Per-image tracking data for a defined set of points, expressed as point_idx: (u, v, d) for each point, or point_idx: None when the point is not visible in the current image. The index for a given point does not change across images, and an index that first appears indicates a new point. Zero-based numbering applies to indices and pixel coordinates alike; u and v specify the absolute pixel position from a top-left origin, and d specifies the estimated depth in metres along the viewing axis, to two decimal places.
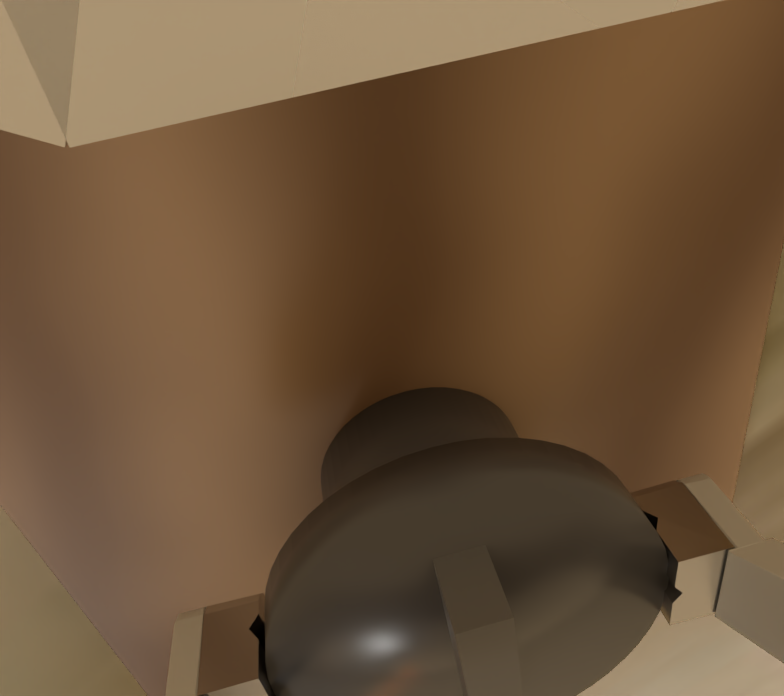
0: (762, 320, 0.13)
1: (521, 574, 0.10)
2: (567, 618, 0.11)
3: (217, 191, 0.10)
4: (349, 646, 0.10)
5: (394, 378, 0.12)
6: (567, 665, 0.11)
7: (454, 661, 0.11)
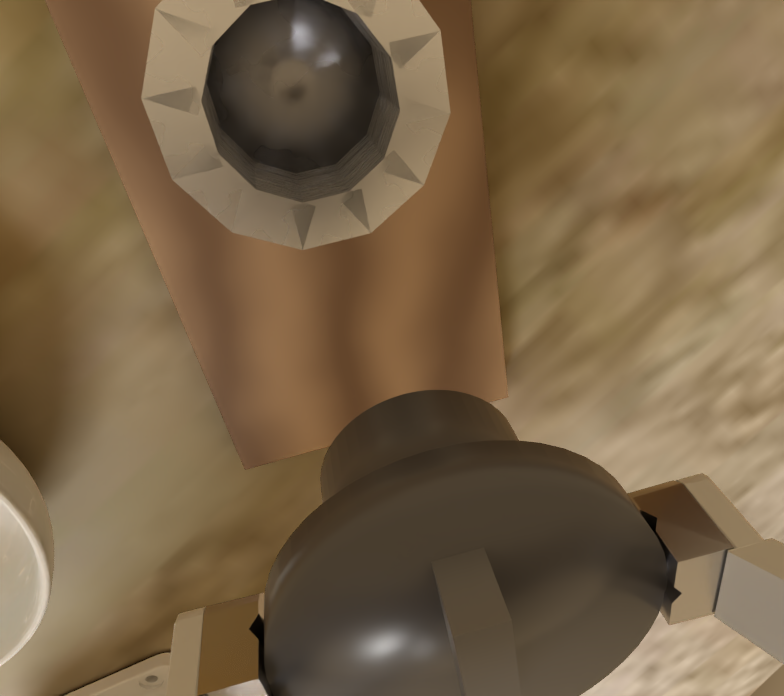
0: (494, 284, 0.33)
1: (520, 577, 0.10)
2: (565, 621, 0.11)
3: None
4: (348, 648, 0.10)
5: (347, 307, 0.32)
6: (566, 668, 0.11)
7: (453, 663, 0.11)
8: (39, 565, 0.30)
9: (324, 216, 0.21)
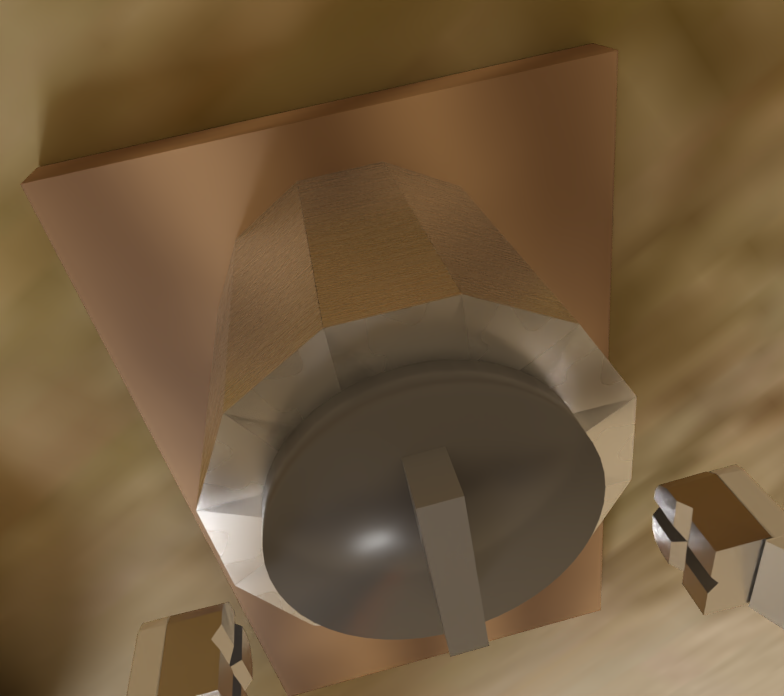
0: None
1: (477, 475, 0.11)
2: (519, 520, 0.12)
3: None
4: (333, 537, 0.12)
5: None
6: (522, 566, 0.13)
7: (423, 557, 0.12)
8: None
9: None
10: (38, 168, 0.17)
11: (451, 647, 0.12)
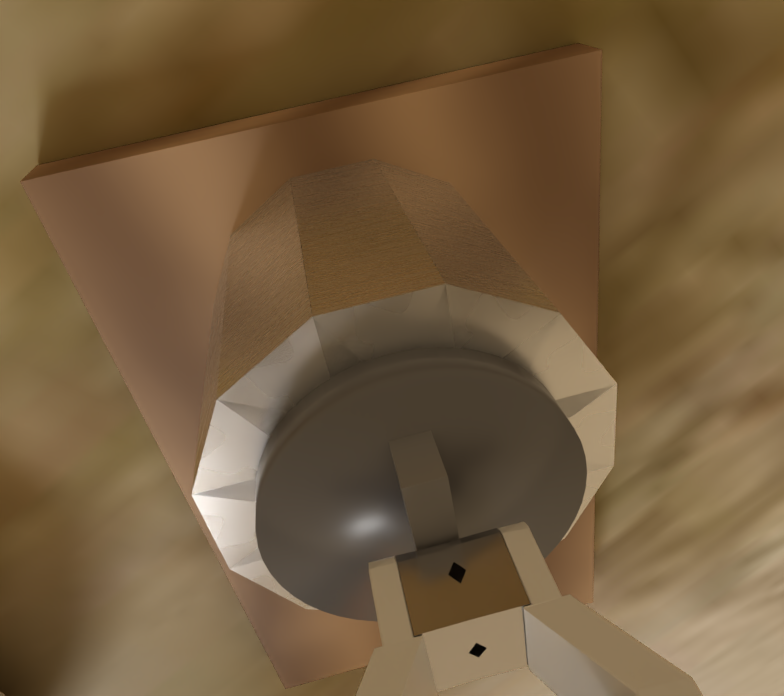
0: (591, 500, 0.27)
1: (462, 459, 0.12)
2: (504, 503, 0.13)
3: None
4: (323, 519, 0.12)
5: None
6: None
7: (411, 539, 0.13)
8: None
9: None
10: (37, 166, 0.17)
11: None
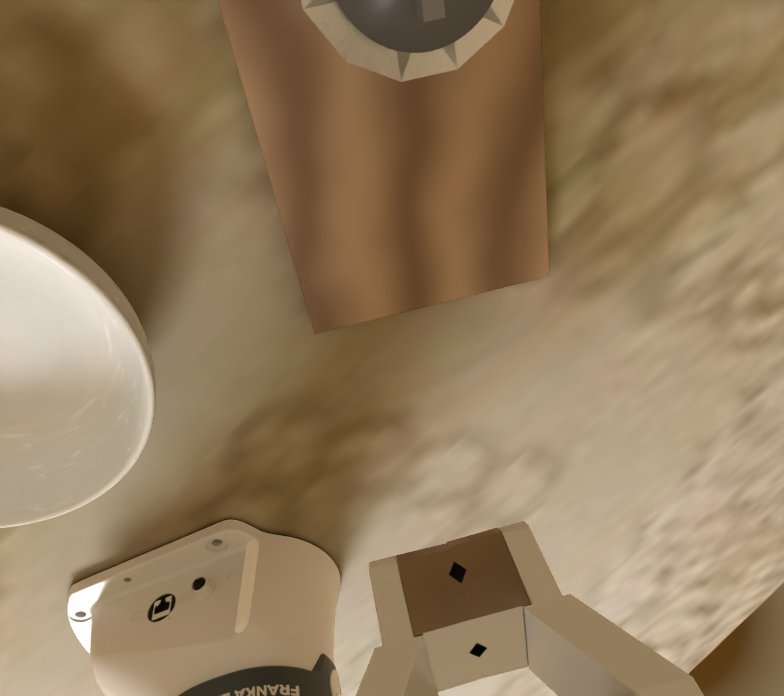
0: (543, 163, 0.37)
1: None
2: None
3: (364, 110, 0.34)
4: None
5: (413, 178, 0.36)
6: None
7: None
8: (147, 392, 0.35)
9: None
10: None
11: (424, 12, 0.22)
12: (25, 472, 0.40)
